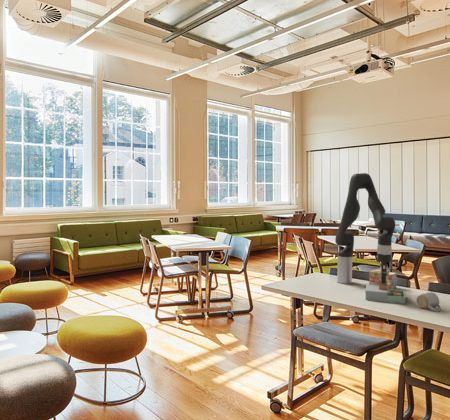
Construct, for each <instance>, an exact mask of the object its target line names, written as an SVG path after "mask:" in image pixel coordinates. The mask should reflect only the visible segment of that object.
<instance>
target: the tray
mask: <svg viewBox="0 0 450 420" xmlns="http://www.w3.org/2000/svg"><path fill="white" fill-rule="evenodd" d="M393 293H401V297H400V296H393ZM407 302H408V297H407V293H406V291H405V290H404V289H390V293H387V303H391V304H401V305H403V304H404V305H408V304H407Z"/></svg>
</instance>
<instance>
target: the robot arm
mask: <svg viewBox="0 0 450 420" xmlns="http://www.w3.org/2000/svg"><path fill="white" fill-rule="evenodd" d="M363 189H365V190H366V191H367V193H368V194H367V195H368V197H367V198H368V199H367V206H368V209H369V210H370V212H371V214H372V216H373V221H374V226H375V228H377V229H378V230H380V231H383V230H384V231H383V232H382V233H380V234H379V235H378V236H377V248H376V261H377V262H380V264H379V269H380V271H381V279H382V280H381V283H382V284H385V283H386V276H387V275H386V273H387V270H389V266H388V264H387V263H392V257H393V256H392V253H393V252H392V251H393V250H392V249H393V248H392V242H393V241H392V238H393V235H394V231H395V228H396V221H395V219H394V218H393V217H391V216H384V215H385V214H386V208H385V207H384V205H383V203H382V201H381V200H380V198H379V195H378V193H377V190H376V187H375V185H374V182H373V178H372V177H371V175H370V174H369V173H366V172H365V173H363V172H362V173H353V174H352V176H351V177H350V180H349V186H348V192H347V197H346V201H345V204H344V209H343V212H342V216H341V219H340V222H339V223H340V224H339V226H338V228H337V232H336V234H335V244H336V246H341V247H344V248H343V249H341V250H338V252H337V276H336V277H337V278H336V279H337V280H336V281H337V283H339V284H343V285H345V284H347V285H348V284H352V283H353V255H354V246H355V245H354V244H355V236H354V233H353V232H352V231H347V230H348V228H349V227H350V226H351V225H353V223H355V221H356V220H358V218H359V213H360V211H361V205H360V203H359V199H358V197H357V195H358V191H359V190H363Z"/></svg>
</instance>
